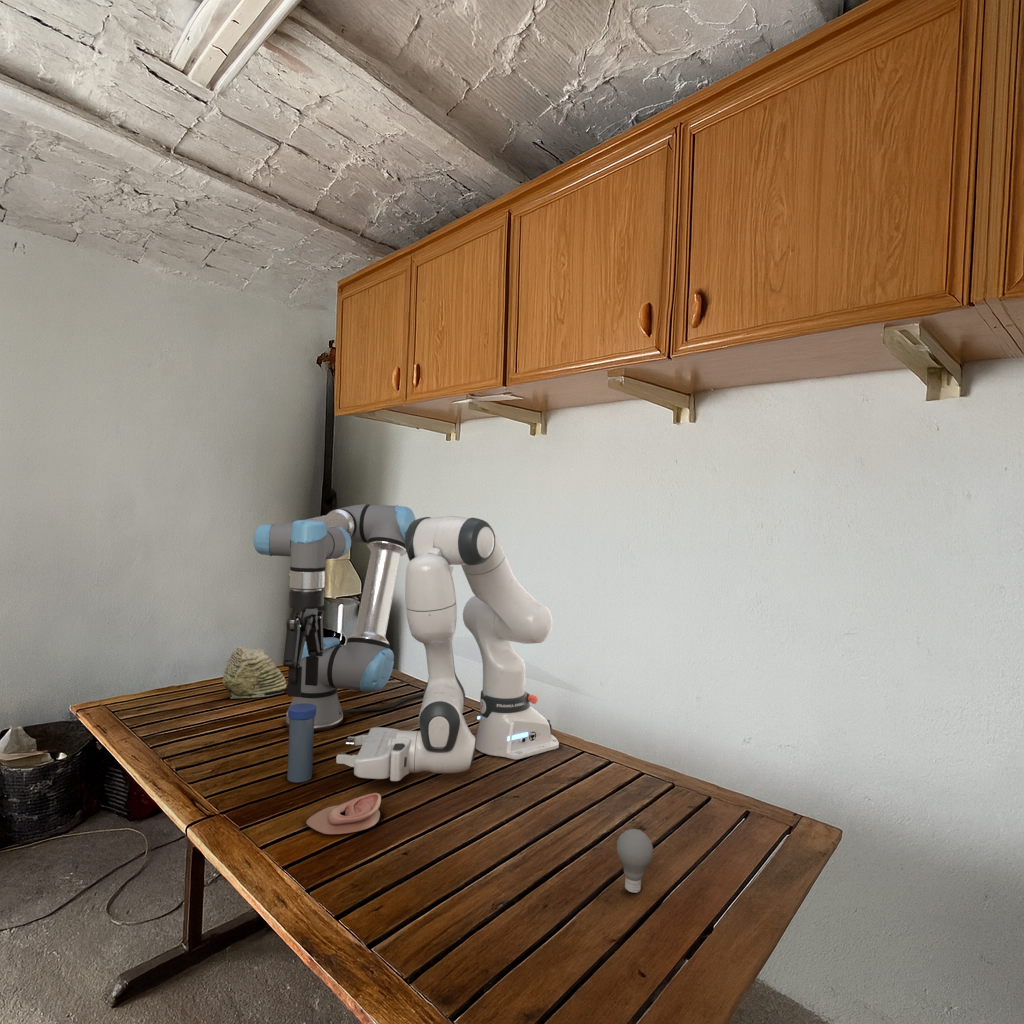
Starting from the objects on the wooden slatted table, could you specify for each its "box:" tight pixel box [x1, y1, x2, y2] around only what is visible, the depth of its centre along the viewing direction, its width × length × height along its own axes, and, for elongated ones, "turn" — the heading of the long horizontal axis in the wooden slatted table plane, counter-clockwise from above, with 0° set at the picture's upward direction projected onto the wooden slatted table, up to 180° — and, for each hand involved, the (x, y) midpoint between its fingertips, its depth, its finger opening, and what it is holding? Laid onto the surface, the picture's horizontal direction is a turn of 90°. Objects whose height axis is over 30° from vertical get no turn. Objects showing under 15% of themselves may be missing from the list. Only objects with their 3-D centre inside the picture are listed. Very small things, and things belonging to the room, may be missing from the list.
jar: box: [286, 716, 315, 784], centre depth 142 cm, size 5×5×15 cm
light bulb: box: [615, 828, 654, 894], centre depth 106 cm, size 6×6×10 cm
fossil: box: [222, 646, 288, 699], centre depth 198 cm, size 9×18×15 cm, turn 132°
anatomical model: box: [305, 792, 382, 835], centre depth 124 cm, size 13×4×12 cm
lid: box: [287, 703, 316, 720], centre depth 142 cm, size 6×6×2 cm
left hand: (303, 690), depth 142 cm, fingers open, 8 cm apart
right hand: (341, 749), depth 143 cm, fingers open, 8 cm apart
